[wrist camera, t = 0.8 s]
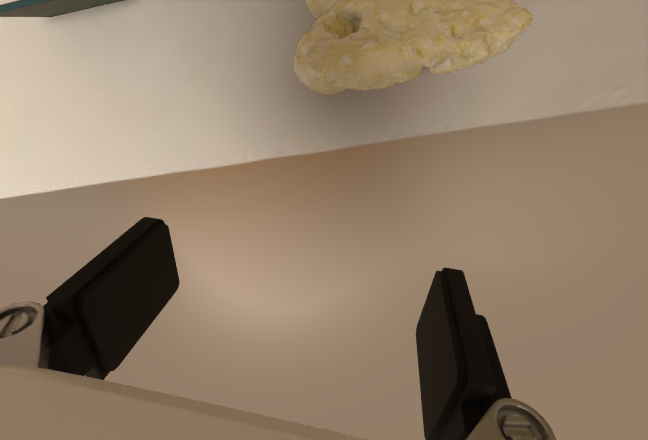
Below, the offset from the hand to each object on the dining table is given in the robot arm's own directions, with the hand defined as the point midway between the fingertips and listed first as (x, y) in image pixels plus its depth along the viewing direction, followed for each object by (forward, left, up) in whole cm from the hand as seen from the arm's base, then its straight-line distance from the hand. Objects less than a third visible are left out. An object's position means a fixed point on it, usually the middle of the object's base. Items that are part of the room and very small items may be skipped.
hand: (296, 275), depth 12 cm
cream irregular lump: (-7, +4, -26) cm, 27 cm away
